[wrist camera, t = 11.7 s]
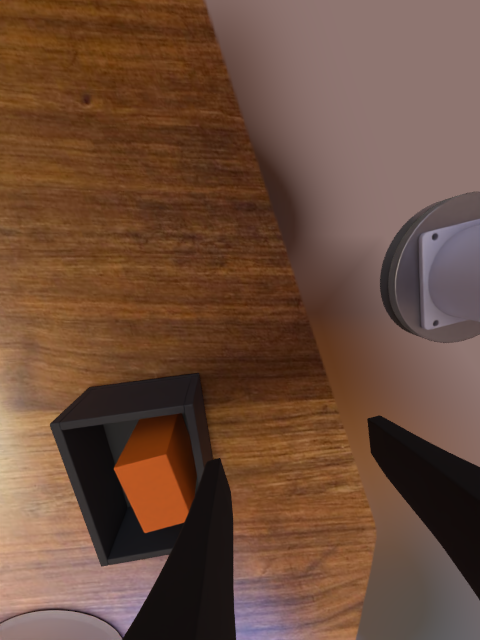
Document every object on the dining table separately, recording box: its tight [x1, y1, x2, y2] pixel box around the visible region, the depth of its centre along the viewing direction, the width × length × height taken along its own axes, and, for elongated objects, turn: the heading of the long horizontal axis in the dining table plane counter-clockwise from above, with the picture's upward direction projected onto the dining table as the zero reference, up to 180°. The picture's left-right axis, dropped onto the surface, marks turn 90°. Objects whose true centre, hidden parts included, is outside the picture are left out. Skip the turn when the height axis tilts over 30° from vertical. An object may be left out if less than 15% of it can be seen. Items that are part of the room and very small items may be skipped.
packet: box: [114, 413, 197, 533], centre depth 18 cm, size 4×6×5 cm, turn 13°
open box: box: [50, 373, 213, 566], centre depth 18 cm, size 9×13×4 cm
